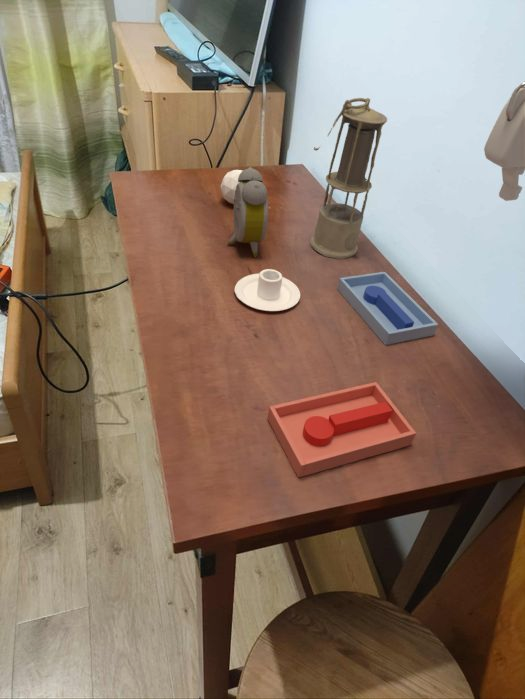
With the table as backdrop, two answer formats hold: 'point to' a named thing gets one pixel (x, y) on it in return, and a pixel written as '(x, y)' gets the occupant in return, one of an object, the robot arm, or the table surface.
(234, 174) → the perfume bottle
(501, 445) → the table surface
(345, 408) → the red tray
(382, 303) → the blue spoon
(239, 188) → the alarm clock
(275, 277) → the candle holder
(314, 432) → the red spoon
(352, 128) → the lamp
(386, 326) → the blue tray
